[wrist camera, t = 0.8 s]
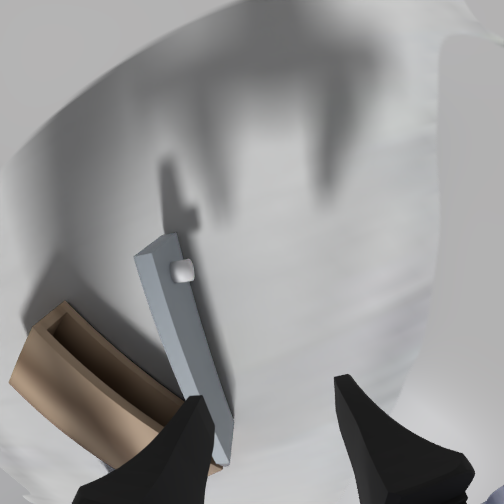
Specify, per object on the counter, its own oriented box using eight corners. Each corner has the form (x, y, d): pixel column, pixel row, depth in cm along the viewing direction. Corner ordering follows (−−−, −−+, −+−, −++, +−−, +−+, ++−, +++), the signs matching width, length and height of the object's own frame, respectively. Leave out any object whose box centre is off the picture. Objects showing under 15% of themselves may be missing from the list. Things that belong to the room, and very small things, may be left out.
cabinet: (170, 461, 25) (160, 494, 21) (34, 356, 22) (8, 382, 18) (227, 429, 23) (222, 469, 19) (65, 300, 20) (32, 326, 16)
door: (224, 427, 23) (218, 468, 19) (161, 235, 18) (133, 256, 14) (247, 426, 23) (245, 467, 18) (191, 229, 18) (171, 249, 14)
